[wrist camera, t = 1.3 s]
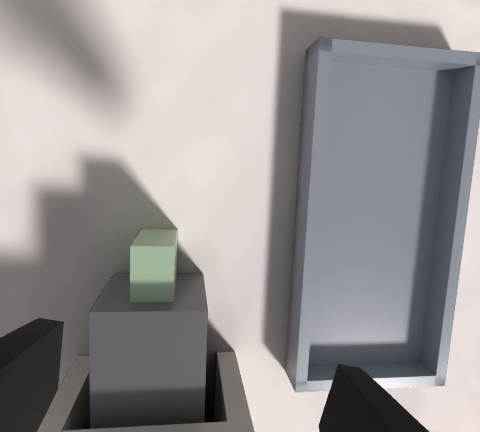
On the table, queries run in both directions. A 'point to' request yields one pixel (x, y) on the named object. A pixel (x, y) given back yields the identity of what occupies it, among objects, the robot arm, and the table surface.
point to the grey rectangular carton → (149, 341)
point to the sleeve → (223, 428)
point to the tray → (380, 211)
